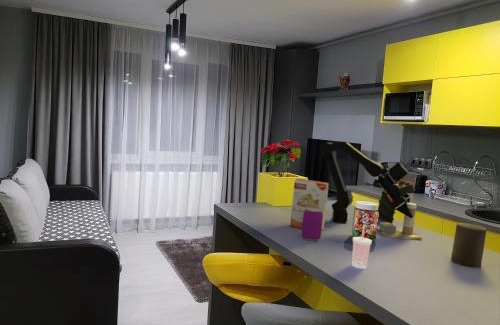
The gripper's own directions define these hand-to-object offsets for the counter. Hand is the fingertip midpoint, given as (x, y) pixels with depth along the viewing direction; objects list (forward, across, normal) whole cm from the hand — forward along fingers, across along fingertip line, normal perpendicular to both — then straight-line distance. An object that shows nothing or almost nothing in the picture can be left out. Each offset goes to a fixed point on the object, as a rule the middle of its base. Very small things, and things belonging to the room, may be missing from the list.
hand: (413, 215), depth 175 cm
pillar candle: (+22, -25, -8) cm, 34 cm away
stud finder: (0, -4, +13) cm, 14 cm away
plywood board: (+3, -2, +10) cm, 10 cm away
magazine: (-3, +23, +17) cm, 28 cm away
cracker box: (-22, -23, +35) cm, 47 cm away
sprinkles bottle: (+5, 0, +7) cm, 8 cm away
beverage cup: (-1, -56, +14) cm, 58 cm away
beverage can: (-17, -37, +30) cm, 51 cm away
